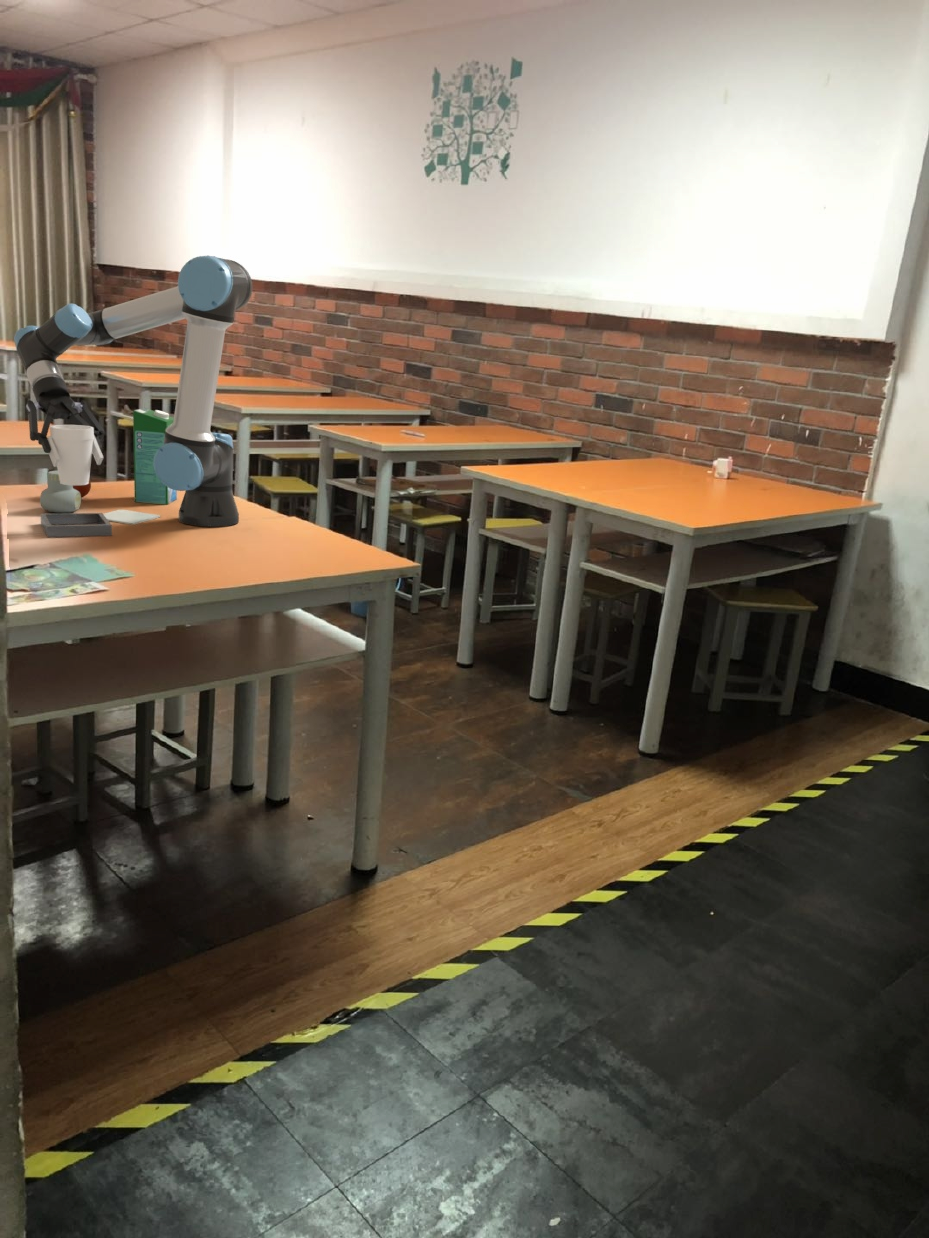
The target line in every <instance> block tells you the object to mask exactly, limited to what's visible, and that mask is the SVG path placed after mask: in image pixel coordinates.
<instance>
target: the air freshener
mask: <svg viewBox="0 0 929 1238" xmlns="http://www.w3.org/2000/svg"><path fill="white" fill-rule="evenodd" d="M46 475H47V487H46V488H45V489H43V490H42V491H41V493H40V497H39V503H40V506H41V508H42V509H44V510H46V511H48V512H50V513H53V514H60V513H74V512H76V511H77V510H79V509H80V506H81V504H82V498H81V494H80V492H79V491H77V490H75V489H73V485H63V484H60V480H59V474H58V470H51V471H48V472H47V474H46Z"/></svg>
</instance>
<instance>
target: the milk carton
mask: <svg viewBox="0 0 929 1238" xmlns="http://www.w3.org/2000/svg"><path fill="white" fill-rule="evenodd" d="M132 417H133V418H132V419H133V420H132V421H133V422H132V423H133V424H132V425H133V428H132V429H133V430H132V431H133V477H134V479H133V480H134V481H133V485H134V488H133V489H134V502H135V503H143V504H144V503H145V504H154V505H169V504H170V503H172V502H174V501H176V500H177V498H178V497H177V496H178V495H177V494H178V491H176V490H173V489H171V488H169V487H167V486H165V485H164V484H163V483H162V482H161V480H160V479H159V478H158V477H157V475H156V473H155V470H154V464H153V462H154V456H155V453H156V452H157V450H158V449H159V448H160V447H161V446H162V445H164V437H165V431H166V428H168V427H169V426H170V425H172V424H173V421H174V416H170V413H168V412H166V411H162V410H158V409H155V410H152V409H149V408H147V407H142V408H139V409H138V408H137V409H134V410H133V411H132Z"/></svg>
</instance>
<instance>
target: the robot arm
mask: <svg viewBox="0 0 929 1238" xmlns="http://www.w3.org/2000/svg"><path fill="white" fill-rule="evenodd" d="M177 278H178V279H177V286H173V287H171V288H168V289H164V290H161V291H157V292H155V293H151V294H147V295H144V296H141V297H138V298H135V299H133V300H132V299H131V300H129V301H126V302H122V303H119V304H116V305H112V306H108V307H105V308H103V309H100V310H99V309H98V310H96V311H93V312H88V313H87V311H86V309H83V308H82V307H81V306H78V305H77V304H75V303H67V304H66V305H64V306H63V307H61V308H59V309H58V310H57V311H56V312H55V314H53V315H52V316H51V317H49V318H48V319H47V320H46V321H45V322H44V323H43V324H42V325H41V326H37V325H27V326H25V327H20V328H19V329H18V330H16V332H15V334H14V336H13V343H14V345H15V349H16V353H17V356H19V359H20V361H21V363H22V365H23V368H24V370H25V371H24V372H25V374H26V377H27V379H28V383H29V384H30V386H31V387H30V388H31V389H32V393H33V395H34V397H35V400H36V401H35V402H34V401H33V400H27V402H26V406H25V410H26V413H27V416H28V426H29V428H28V429H29V440H30V441H33V442H35V441H37V443H38V445H40V446H41V447H42V449H43V452H44V453H45V454H48V455H49V456H48V457H49V458H50V460H51V463H52V465H53V467H54V468H55V467H56V468H57V466H58V463H59V461H60V458H59V455H58V453H57V450H56V448H55V445H54V443H53V440H52V437H51V435H50V436H49V435H48V432H49V429H50V426H51V422H52V419H53V420H59V419H60V420H67V422H69V423H71V424H72V425H84V426H90V427H93V428H94V439H93V445H92V456H93V457H94V460H95V462H96V465H97V466H100V465H101V464H102V462H103V461H104V455H103V453H102V451H101V450H102V448H103V445H102V442H101V440H102V439H103V437H104V434H105V433H106V432H105V429H104V428H103V427H102V425H101V423H100V422H99V421H98V420H97V419H96V417H95V415H94V414H93V413H92V412H91V410H90V409H89V406H88V403H87V401H86V400H81V402H76V401H74V399H72V398H71V395H70V392H69V389H68V387H67V383H66V381H65V379H64V377H63V375H62V372H61V371H62V370H61V369H60V367H59V364H58V361H57V358H59V357H60V356H61V355H63V354H64V353H66V351H68V350H69V349H70V348H71V347H72V346H104V345H107V344H110V343H112V342H113V341H114V340H116V339H120V338H123V337H127V336H130V335H134V334H136V333H140V332H144V331H147V330H152V329H154V328H157V327H161V326H164V325H165V326H166V325H168V324H171V323H176V322H178V321H182V320H185V319H186V321H187V324H186V329H185V330H186V331H185V336H184V337H185V339H184V345H183V353H182V358H181V366H180V374H179V380H178V385H177V386H178V387H177V395H176V401H175V402H176V403H175V409H174V415H173V418H174V421H173V424H172V425H170V426H169V427H168V428H166V431H165V437H164V445H162V446H161V447H160V448H159V449H158V450H157V452H156V453H155V456H154V462H153V464H154V470H155V473H156V475H157V477H158V478H159V479H160V480H161V482H162V483H163V484H164V485H165V486H167V487H169V488H171V489H173V490H176V491H177V492H184V491H185V492H184V496H183V497H182V502H181V504H180V506H179V510H178V521H179V522H181V523H182V524H186V525H190V526H197V527H209V528H211V527H214V528H216V527H229V526H234V525H236V524H238V523H239V521H240V520H239V519H240V517H239V516H240V514H239V510H238V506H237V503H236V500H235V497H234V494H233V471H234V467H233V466H234V465H233V464H234V444H233V442H234V441H233V437H232V436H231V435H230V434H227V433H222V432H221V433H219V432H212V431H211V428H212V427H211V426H212V420H213V414H214V406H215V400H216V394H217V387H218V381H219V375H220V374H219V373H220V368H221V361H222V360H221V359H222V356H223V355H222V354H223V348H224V342H225V335H226V330H227V329H228V328H230V327H231V326H233V325H234V321H235V314H236V311H239V310H241V309H242V308H243V307H245V306H246V305H247V303H249V302H250V299H251V297H252V294H253V281H252V278H251V275H250V274H249V271H248V270H247V269H246V268H245V267H244V266H243V265H242V264H241V263H240V262H237V261H235V260H231V259H225V258H223V257H222V258H221V257H217V256H214V255H199V256H196V257H192V258H191V259H190V260H188V261H187V262H186V263H185V264H184V265H183V266H182V267H181V270H180V272H179V274H178V277H177ZM38 410H39V411H41V412H42V413H44V414H45V416H44V420H43V425H42V428H41V431H40V432H39V429H38V428H39V427H38V426H39V425H38Z"/></svg>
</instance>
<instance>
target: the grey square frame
mask: <svg viewBox="0 0 929 1238" xmlns="http://www.w3.org/2000/svg"><path fill="white" fill-rule="evenodd" d="M103 514H104V513H103V512H75V513H74V512H72V513H40V525H41V527H42V529H43V531H44V533H45V535H46V537H47V538H70V537H71V538H73V537H75V538H76V537H94V536H95V537H105V536H106V537H107V536H109V537H110V536H113V528H112V527H113V526H112V524H111V521H108V520H107V519H106V517H105V516H104V515H103Z"/></svg>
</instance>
